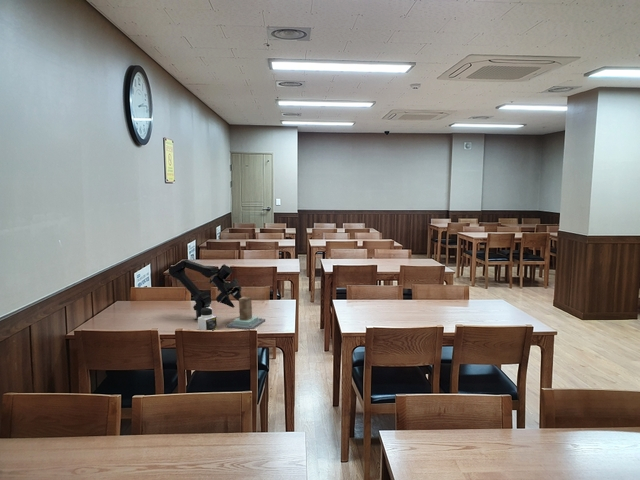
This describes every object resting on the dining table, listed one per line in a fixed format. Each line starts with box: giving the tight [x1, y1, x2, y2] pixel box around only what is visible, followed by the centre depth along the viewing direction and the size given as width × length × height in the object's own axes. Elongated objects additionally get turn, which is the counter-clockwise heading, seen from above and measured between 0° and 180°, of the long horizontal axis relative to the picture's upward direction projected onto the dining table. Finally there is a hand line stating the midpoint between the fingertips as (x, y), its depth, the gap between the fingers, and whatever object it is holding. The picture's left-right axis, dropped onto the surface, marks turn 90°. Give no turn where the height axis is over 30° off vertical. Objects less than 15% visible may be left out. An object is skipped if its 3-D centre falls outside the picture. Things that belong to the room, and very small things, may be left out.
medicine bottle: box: [197, 307, 218, 331], centre depth 240 cm, size 7×7×12 cm
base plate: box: [225, 315, 266, 330], centre depth 248 cm, size 16×16×3 cm
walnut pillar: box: [238, 296, 253, 320], centre depth 247 cm, size 5×5×12 cm
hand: (238, 305), depth 249 cm, fingers open, 9 cm apart
